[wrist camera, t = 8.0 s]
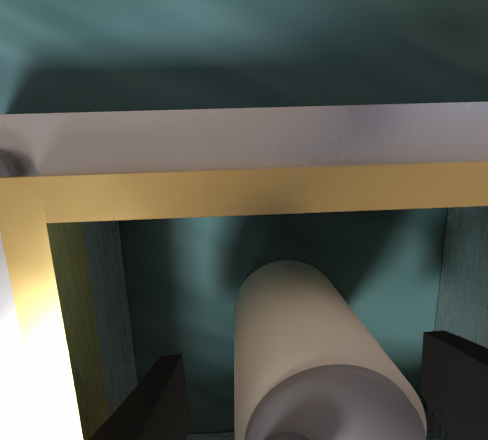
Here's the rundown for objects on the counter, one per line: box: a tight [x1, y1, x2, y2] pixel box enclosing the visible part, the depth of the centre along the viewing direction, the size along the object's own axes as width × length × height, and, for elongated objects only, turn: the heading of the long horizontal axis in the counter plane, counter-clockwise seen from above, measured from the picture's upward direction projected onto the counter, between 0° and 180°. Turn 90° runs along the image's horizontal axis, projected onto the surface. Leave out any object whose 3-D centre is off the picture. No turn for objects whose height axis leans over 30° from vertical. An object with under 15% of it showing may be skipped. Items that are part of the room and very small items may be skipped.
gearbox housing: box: [0, 102, 488, 440], centre depth 10 cm, size 18×15×4 cm
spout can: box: [234, 260, 427, 440], centre depth 8 cm, size 4×4×7 cm
